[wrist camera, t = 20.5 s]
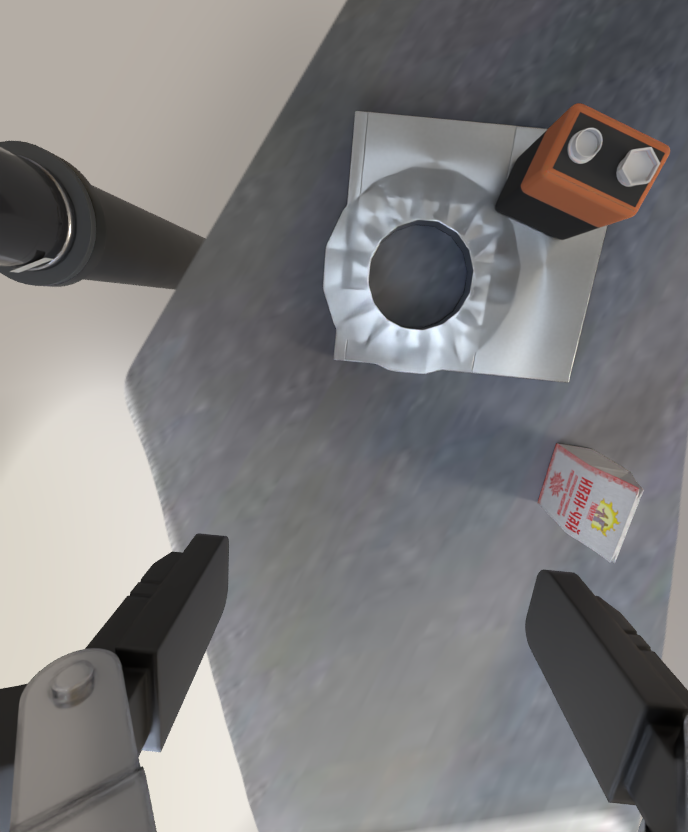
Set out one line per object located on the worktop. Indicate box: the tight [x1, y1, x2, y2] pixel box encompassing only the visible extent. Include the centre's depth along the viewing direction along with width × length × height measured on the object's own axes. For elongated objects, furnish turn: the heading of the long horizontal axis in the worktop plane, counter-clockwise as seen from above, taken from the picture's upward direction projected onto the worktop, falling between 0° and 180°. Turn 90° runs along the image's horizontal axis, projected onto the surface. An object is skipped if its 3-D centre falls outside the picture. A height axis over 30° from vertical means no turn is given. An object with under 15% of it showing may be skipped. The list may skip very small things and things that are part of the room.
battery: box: [496, 103, 670, 240], centre depth 28 cm, size 4×7×10 cm, turn 68°
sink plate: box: [323, 111, 607, 382], centre depth 35 cm, size 24×21×2 cm
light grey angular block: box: [538, 443, 644, 563], centre depth 36 cm, size 4×7×10 cm, turn 171°
